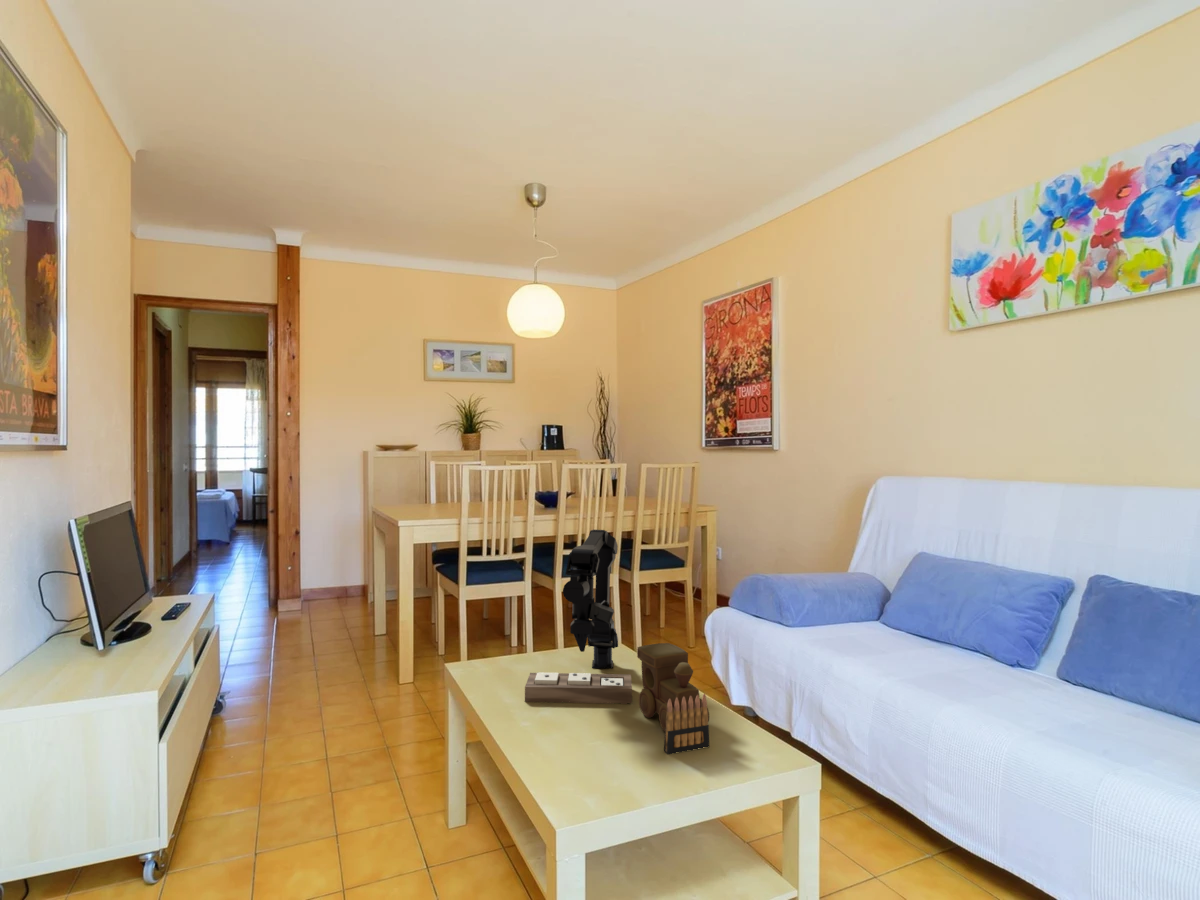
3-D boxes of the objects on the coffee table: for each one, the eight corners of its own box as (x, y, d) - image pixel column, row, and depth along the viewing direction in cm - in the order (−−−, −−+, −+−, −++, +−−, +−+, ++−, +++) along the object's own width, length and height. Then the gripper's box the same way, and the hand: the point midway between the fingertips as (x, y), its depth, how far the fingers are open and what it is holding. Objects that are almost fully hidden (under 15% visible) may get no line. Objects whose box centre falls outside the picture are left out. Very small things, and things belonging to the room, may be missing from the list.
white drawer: (537, 681, 180) (537, 671, 180) (558, 682, 180) (558, 672, 180) (534, 689, 174) (534, 679, 174) (556, 689, 174) (556, 679, 174)
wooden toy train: (633, 710, 167) (633, 646, 168) (671, 703, 172) (671, 641, 172) (672, 741, 149) (673, 670, 149) (713, 733, 154) (714, 664, 154)
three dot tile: (601, 687, 180) (601, 677, 180) (622, 687, 180) (622, 677, 180) (600, 695, 174) (601, 685, 174) (623, 695, 174) (623, 685, 174)
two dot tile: (569, 682, 180) (569, 672, 180) (590, 682, 180) (590, 672, 180) (567, 690, 174) (567, 679, 174) (589, 690, 174) (590, 680, 174)
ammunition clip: (705, 743, 148) (705, 691, 148) (709, 747, 147) (710, 694, 147) (663, 751, 145) (664, 697, 145) (667, 754, 143) (667, 700, 143)
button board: (530, 686, 183) (530, 672, 183) (630, 688, 182) (630, 674, 182) (524, 701, 172) (524, 686, 172) (631, 703, 171) (632, 688, 171)
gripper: (613, 602, 168) (612, 662, 168) (611, 587, 187) (610, 641, 186) (570, 602, 168) (570, 662, 168) (572, 587, 186) (572, 641, 186)
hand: (582, 651), depth 177 cm, fingers closed
